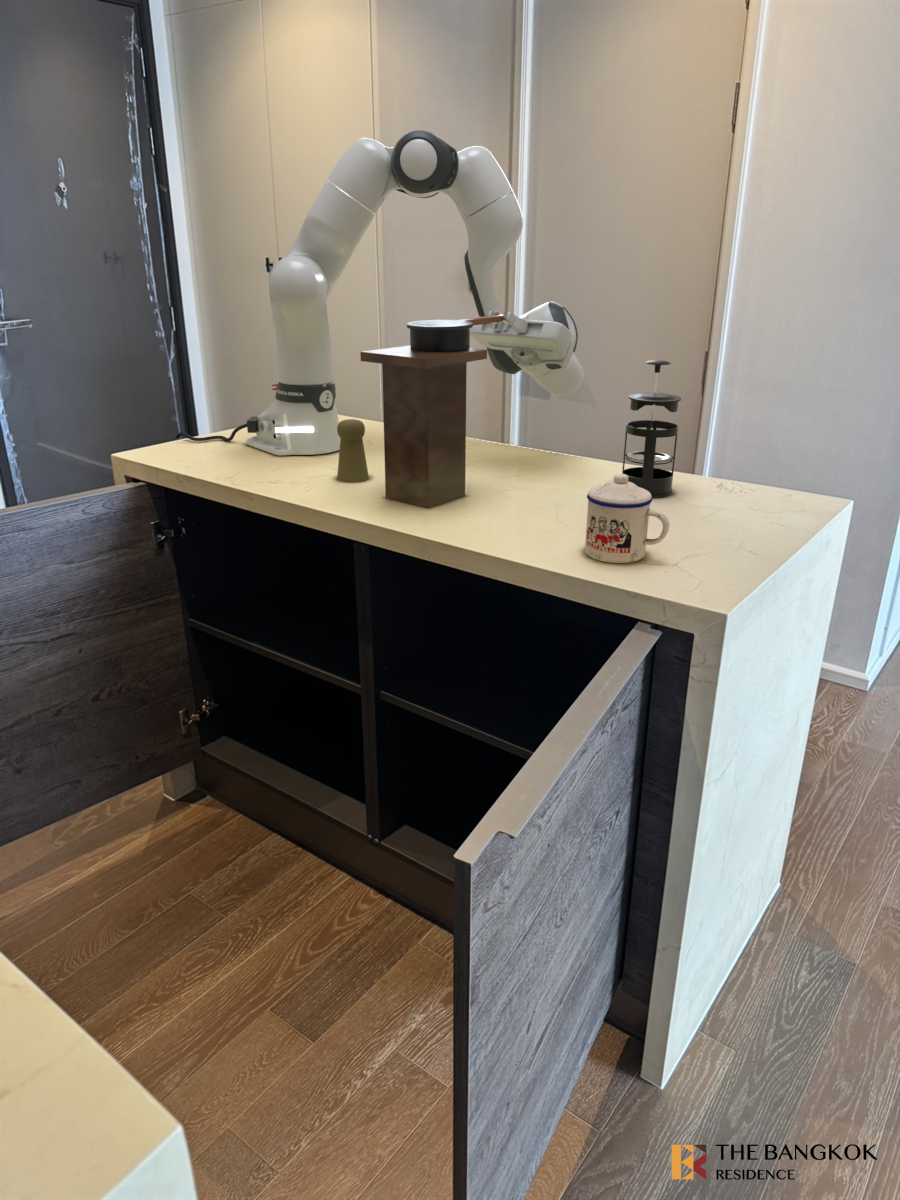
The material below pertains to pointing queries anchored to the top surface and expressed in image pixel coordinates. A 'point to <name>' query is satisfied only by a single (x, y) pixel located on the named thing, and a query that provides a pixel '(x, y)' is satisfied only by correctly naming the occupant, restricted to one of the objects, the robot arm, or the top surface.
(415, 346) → the saucepan
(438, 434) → the stand
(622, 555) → the teacup with lid
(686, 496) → the top surface
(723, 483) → the top surface
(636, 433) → the french press
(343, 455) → the cork
